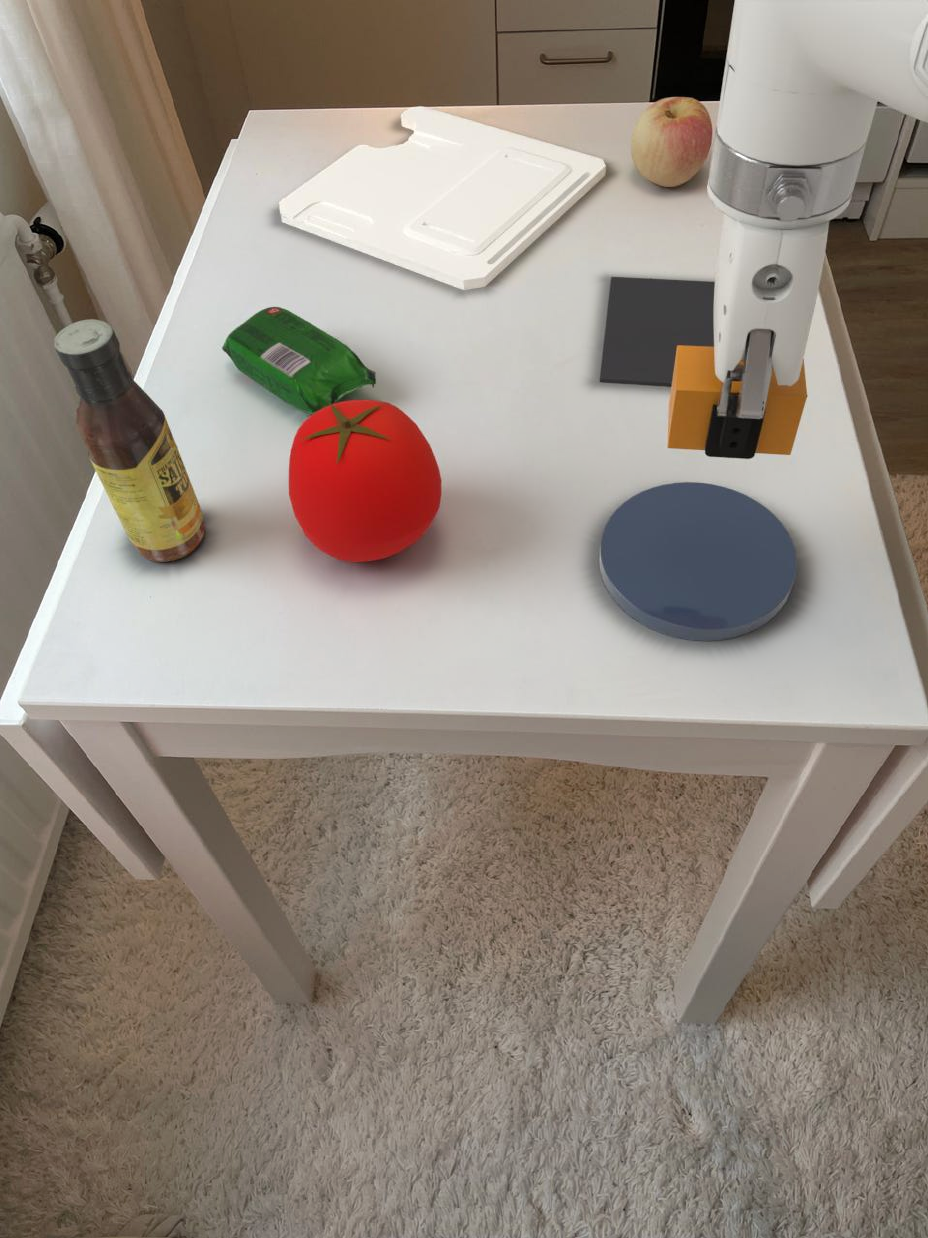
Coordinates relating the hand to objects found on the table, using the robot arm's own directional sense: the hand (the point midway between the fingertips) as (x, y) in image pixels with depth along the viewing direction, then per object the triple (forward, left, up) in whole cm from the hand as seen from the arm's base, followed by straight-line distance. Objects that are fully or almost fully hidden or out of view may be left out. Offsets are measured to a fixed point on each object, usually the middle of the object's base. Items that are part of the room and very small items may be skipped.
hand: (728, 425), depth 65 cm
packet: (0, 0, 0) cm, 0 cm away
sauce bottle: (+43, +3, -14) cm, 46 cm away
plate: (0, +1, -14) cm, 14 cm away
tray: (+29, -51, -14) cm, 61 cm away
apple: (+4, -56, -14) cm, 58 cm away
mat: (+1, -28, -14) cm, 32 cm away
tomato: (+26, +1, -14) cm, 30 cm away
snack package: (+37, -17, -14) cm, 43 cm away
